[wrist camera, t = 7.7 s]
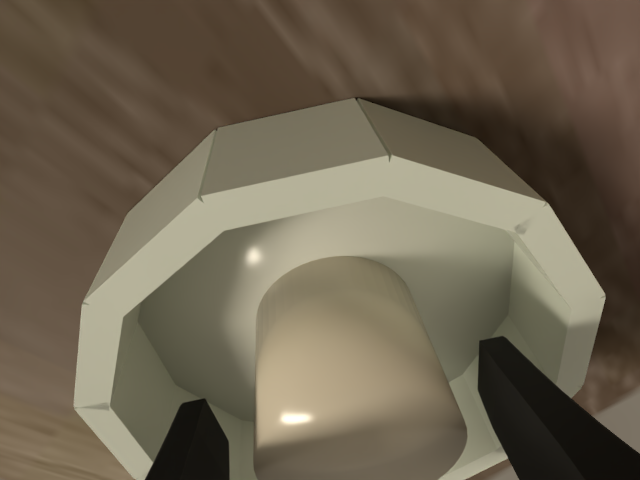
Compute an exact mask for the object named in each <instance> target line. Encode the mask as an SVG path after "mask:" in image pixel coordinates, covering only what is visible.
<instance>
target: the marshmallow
mask: <svg viewBox="0 0 640 480" xmlns="http://www.w3.org/2000/svg"><path fill="white" fill-rule="evenodd" d="M467 437H468V435H467V427H466V424H465V421H464V418H463V416H462V413H461V411H460V409H459V406H458V404H457V402H456V399H455V397H454V394H453V392H452V390H451V387H450V385H449V383H448V380H447V378H446V375H445V373H444V371H443V368H442V366H441V364H440V361H439V359H438V356H437V354H436V352H435V349H434V347H433V345H432V342H431V340H430V337H429V335H428V333H427V330H426V328H425V326H424V323H423V321H422V318H421V316H420V314H419V311H418V309H417V307H416V304H415V302H414V299H413V297H412V295H411V292H410V290H409V288H408V286H407V285H406V283H405V282H404V280H403V279H402V278H401V277H400V276H399V275H398V274H397V273H396V272H395V271H393V270H392V269H390V268H389V267H387V266H385V265H383V264H381V263H379V262H376V261H373V260H370V259H366V258H361V257H353V256H334V257H327V258H321V259H317V260H313V261H310V262H308V263H305V264H302V265H300V266H298V267H296V268H294V269H292V270H290V271H289V272H287V273H286V274H284V275H283V276H281V277H280V278H279V279H278V280H277V281H275V282H274V283H273V284H272V286H271V287H270V288H269V289H268V290H267V292H266V293H265V294H264V296H263V298H262V300H261V302H260V304H259V307H258V310H257V315H256V343H255V395H254V446H253V466H254V472H255V475H256V477H257V479H258V480H438V479H439V478H440V477H442V476H443V475H444V474H446V473H447V472H448V471H449V470H450V469H451V468H452V467H453V466H454V465H455V463H456V462H457V461H458V460H459V458H460V456H461V455H462V453H463V451H464V449H465V446H466V443H467Z"/></svg>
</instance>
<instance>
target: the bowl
mask: <svg viewBox="0 0 640 480" xmlns="http://www.w3.org/2000/svg"><path fill="white" fill-rule="evenodd" d="M334 256H353V257H361V258H366V259H370V260H373V261H376V262H379V263H381V264H383V265H385V266H387V267H389V268H390V269H392V270H393V271H395V272H396V273H397V274H398V275H399V276H400V277H401V278H402V279H403V280H404V282H405V283H406V285H407V286H408V288H409V290H410V292H411V295H412V297H413V299H414V302H415V304H416V307H417V309H418V311H419V314H420V316H421V318H422V321H423V323H424V326H425V328H426V330H427V333H428V335H429V337H430V340H431V342H432V345H433V347H434V349H435V352H436V354H437V356H438V359H439V361H440V364H441V366H442V368H443V371H444V373H445V375H446V378H447V380H448V383H449V385H450V387H451V390H452V392H453V394H454V397H455V399H456V402H457V404H458V406H459V409H460V411H461V413H462V416H463V418H464V421H465V424H466V427H467V435H468V437H467V443H466V446H465V449H464V451H463V453H462V455H461V456H460V458H459V460H458V461H457V462H456V463H455V465H454V466H453V467H452V468H451V469H450V470H449V471H448V472H447V473H446V474H444V475H443V476H442V477H440V478H439V479H438V480H465V479H467V478H469V477H471V476H473V475H475V474H477V473H479V472H481V471H483V470H485V469H487V468H489V467H491V466H493V465H495V464H497V463H499V462H502V461H504V460H506V459H508V457H507V455H506V453H505V451H504V449H503V447H502V445H501V443H500V442H499V440H498V438H497V436H496V434H495V432H494V430H493V428H492V425H491V423H490V420H489V418H488V415H487V413H486V410H485V408H484V405H483V403H482V400H481V398H480V395H479V392H478V390H477V389H478V362H479V341H480V340H485V339H489V338H494V337H499V336H504V337H506V338H507V339H508V340H509V341H510V342H511V343H512V344H513V345H514V346H515V347H516V348H517V349H518V350H519V351H520V352H521V353H522V354H523V355H524V356H525V357H526V358H527V359H528V360H529V361H531V362H532V363H533V364H534V365H535V366H536V367H537V368H538V369H539V370H540V371H541V372H542V373H543V374H544V375H545V376H547V377H548V378H549V379H550V380H551V381H552V382H553V383H554V384H555V385H556V386H558V387H559V388H560V389H561V390H562V391H563V392H564V393H565V394H567V395H568V396H569V397H570V398H572V397H573V396H574V395H575V394H576V393H577V392H578V391H579V390H580V389H581V388H582V387H581V386H583V384H584V380H585V376H586V372H587V368H588V365H589V361H590V357H591V353H592V349H593V345H594V341H595V337H596V334H597V330H598V326H599V322H600V318H601V314H602V310H603V307H604V303H605V299H606V297H605V293H604V291H603V290H602V288H601V287H600V285H599V283H598V282H597V280H596V279H595V277H594V275H593V274H592V272H591V271H590V269H589V267H588V266H587V264H586V263H585V261H584V259H583V258H582V256H581V255H580V253H579V251H578V250H577V248H576V247H575V245H574V243H573V242H572V240H571V239H570V237H569V235H568V234H567V232H566V231H565V229H564V227H563V226H562V224H561V223H560V221H559V219H558V218H557V216H556V215H555V213H554V211H553V210H552V208H551V207H550V205H549V204H548V203H547V202H546V201H545V200H544V199H543V198H542V197H541V196H540V195H538V194H537V193H536V192H535V191H534V190H533V189H532V188H531V187H530V186H529V185H528V184H526V183H525V182H524V181H523V180H522V179H521V178H520V177H519V176H518V175H517V174H515V173H514V172H513V171H512V170H511V169H510V168H509V167H508V166H507V165H506V164H504V163H503V162H502V161H501V160H500V159H499V158H498V157H497V156H496V155H495V154H494V153H492V152H491V151H490V150H489V149H488V148H487V147H486V146H485V145H484V144H483V143H481V142H480V141H479V140H478V139H477V138H475V137H472V136H469V135H466V134H464V133H461V132H458V131H455V130H452V129H449V128H446V127H443V126H440V125H437V124H434V123H431V122H428V121H425V120H422V119H419V118H416V117H413V116H410V115H407V114H404V113H401V112H398V111H395V110H392V109H389V108H386V107H383V106H380V105H377V104H374V103H371V102H368V101H365V100H362V99H359V98H358V99H357V101H356V100H355V98H351V99H347V100H342V101H338V102H333V103H329V104H324V105H319V106H315V107H310V108H306V109H301V110H297V111H292V112H288V113H283V114H278V115H274V116H269V117H265V118H260V119H256V120H251V121H247V122H242V123H237V124H233V125H228V126H224V127H219V128H218V129H217V131H216V130H214V131H213V132H212V133H211V134H210V135H209V136H208V137H206V138H205V139H204V140H203V141H202V142H201V143H200V144H199V145H198V146H197V147H196V148H195V149H194V150H193V151H192V152H191V153H190V154H189V155H188V156H187V157H186V158H185V159H184V160H183V161H182V162H180V163H179V164H178V165H177V166H176V167H175V168H174V169H173V170H172V171H171V172H170V173H169V174H168V175H167V176H166V177H165V178H164V179H163V180H162V181H161V182H160V183H159V184H158V185H157V186H156V187H155V188H153V189H152V190H151V191H150V192H149V193H148V194H147V195H146V196H145V197H144V198H143V199H142V200H141V201H140V202H139V203H138V204H137V205H136V206H135V207H134V208H133V209H132V210H131V211H130V212H129V213H128V214H127V216H126V218H125V220H124V222H123V224H122V226H121V228H120V230H119V232H118V234H117V236H116V238H115V240H114V242H113V244H112V246H111V248H110V249H109V251H108V253H107V255H106V257H105V259H104V261H103V263H102V265H101V267H100V269H99V271H98V273H97V275H96V277H95V279H94V281H93V283H92V285H91V287H90V289H89V291H88V293H87V295H86V297H85V299H84V301H83V303H82V310H81V322H80V334H79V347H78V359H77V371H76V383H75V395H74V407H75V408H74V409H75V410H76V412H77V413H78V414H79V415H80V416H81V417H82V419H83V420H84V421H85V422H86V423H87V424H88V426H89V427H90V428H91V429H92V430H93V431H94V433H95V434H96V435H97V436H98V437H99V438H100V440H101V441H102V442H103V443H104V444H105V445H106V447H107V448H108V449H109V450H110V451H111V452H112V454H113V455H114V456H115V457H116V458H117V459H118V461H119V462H120V463H121V464H122V465H123V466H124V468H125V469H126V470H127V471H128V472H129V474H130V475H131V476H132V477H133V478H136V480H145V478H146V476H147V474H148V472H149V470H150V468H151V466H152V464H153V462H154V460H155V458H156V456H157V454H158V452H159V450H160V448H161V446H162V444H163V442H164V439H165V437H166V435H167V433H168V431H169V429H170V426H171V424H172V422H173V420H174V418H175V416H176V413H177V411H178V409H179V407H180V405H181V404H182V403H184V402H189V401H194V400H199V399H203V398H205V399H206V401H207V402H208V404H209V406H210V408H211V410H212V412H213V413H214V415H215V417H216V419H217V421H218V422H219V424H220V426H221V428H222V430H223V431H224V433H225V435H226V437H227V439H228V441H229V463H230V480H258V479H257V477H256V475H255V472H254V466H253V446H254V395H255V343H256V315H257V310H258V307H259V304H260V302H261V300H262V298H263V296H264V294H265V293H266V292H267V290H268V289H269V288H270V287H271V286H272V284H273V283H274V282H275V281H277V280H278V279H279V278H280V277H281V276H283V275H284V274H286V273H287V272H289V271H290V270H292V269H294V268H296V267H298V266H300V265H302V264H305V263H308V262H310V261H313V260H317V259H321V258H327V257H334Z"/></svg>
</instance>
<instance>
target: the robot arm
mask: <svg viewBox="0 0 640 480" xmlns="http://www.w3.org/2000/svg"><path fill="white" fill-rule="evenodd" d="M477 390H478V392H479V395H480V398H481V400H482V403H483V405H484V408H485V410H486V413H487V415H488V418H489V420H490V423H491V425H492V428H493V430H494V432H495V434H496V436H497V438H498V440H499V442H500V443H501V445H502V447H503V449H504V451H505V453H506V455H507V457H508V459H509V461H510V463H511V465H512V466H513V468H514V470H515V472H516V474H517V476H518V478H519V480H640V454H639V453H638V452H637V451H635V450H634V449H632V448H631V447H630V446H629V445H627V444H626V443H625V442H624V441H622V440H621V439H620V438H618V437H617V436H616V435H615V434H613V433H612V432H611V431H610V430H608V429H607V428H606V427H604V426H603V425H602V424H601V423H600V422H598V421H597V420H596V419H595V418H594V417H592V416H591V415H590V414H589V413H588V412H586V411H585V410H584V409H583V408H582V407H580V406H579V405H578V404H577V403H576V402H575V401H574V400H572V399H571V398H570V397H569V396H568V395H567V394H565V393H564V392H563V391H562V390H561V389H560V388H559V387H558V386H556V385H555V384H554V383H553V382H552V381H551V380H550V379H549V378H548V377H547V376H545V375H544V374H543V373H542V372H541V371H540V370H539V369H538V368H537V367H536V366H535V365H534V364H533V363H532V362H531V361H529V360H528V359H527V358H526V357H525V356H524V355H523V354H522V353H521V352H520V351H519V350H518V349H517V348H516V347H515V346H514V345H513V344H512V343H511V342H510V341H509V340H508V339H507V338H506V337H504V336H499V337H494V338H489V339H485V340H480V341H479V362H478V389H477ZM145 480H230V463H229V441H228V439H227V437H226V435H225V433H224V431H223V430H222V428H221V426H220V424H219V422H218V421H217V419H216V417H215V415H214V413H213V412H212V410H211V408H210V406H209V404H208V402H207V401H206V399H205V398H203V399H199V400H194V401H189V402H184V403H182V404H181V405H180V407H179V409H178V411H177V413H176V416H175V418H174V420H173V422H172V424H171V426H170V429H169V431H168V433H167V435H166V437H165V439H164V442H163V444H162V446H161V448H160V450H159V452H158V454H157V456H156V458H155V460H154V462H153V464H152V466H151V468H150V470H149V472H148V474H147V476H146V478H145Z"/></svg>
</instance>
